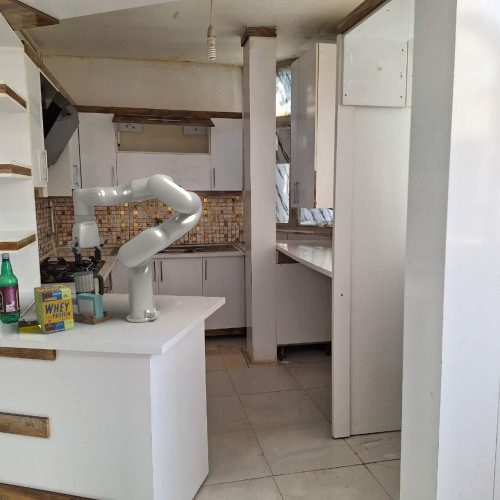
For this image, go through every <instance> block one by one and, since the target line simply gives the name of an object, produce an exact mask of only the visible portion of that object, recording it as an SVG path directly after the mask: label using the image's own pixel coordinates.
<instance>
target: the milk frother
mask: <svg viewBox="0 0 500 500" xmlns="http://www.w3.org/2000/svg"><path fill="white" fill-rule="evenodd" d="M72 274H73V275H72V276H73V279H74V289H75V305H77V297H76V295H78V294H82V293H87V294H96V287H95V286H96V283H95V279H97V280H98V281H97V282H98V283H97V285H98V295H102V296H104V294H105V291H104V290H105V288H104V287H105V286H104V285H105V283H104V281H105V279H104V277H103V276H102V275H101V274H99V273H94V271H90V270H89V271H79V272H74V273H72ZM96 295H97V294H96Z"/></svg>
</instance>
